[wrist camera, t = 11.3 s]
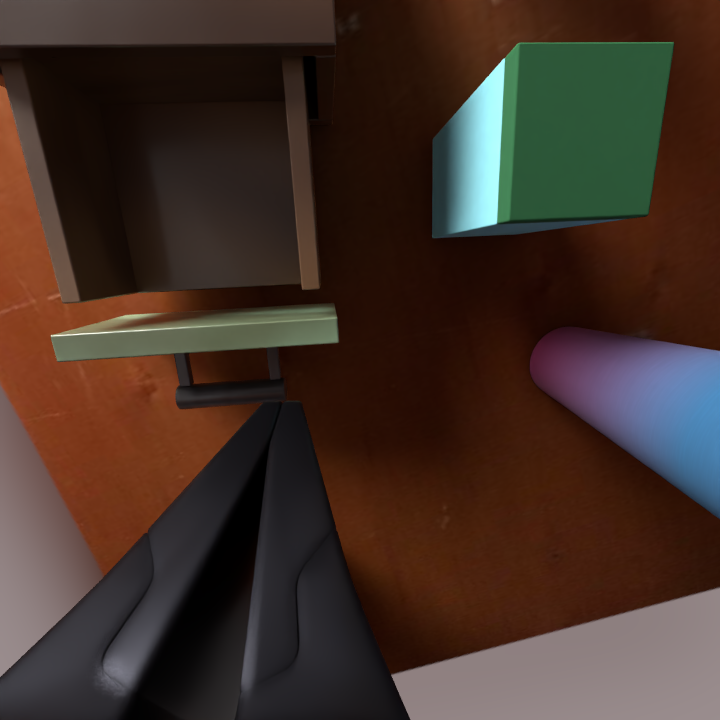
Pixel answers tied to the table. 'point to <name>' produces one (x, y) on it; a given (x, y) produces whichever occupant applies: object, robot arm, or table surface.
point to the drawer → (176, 202)
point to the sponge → (553, 140)
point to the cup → (642, 400)
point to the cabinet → (179, 34)
